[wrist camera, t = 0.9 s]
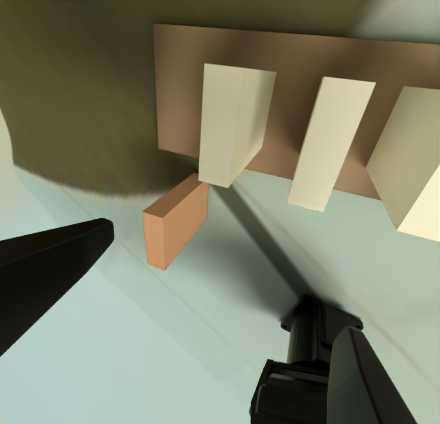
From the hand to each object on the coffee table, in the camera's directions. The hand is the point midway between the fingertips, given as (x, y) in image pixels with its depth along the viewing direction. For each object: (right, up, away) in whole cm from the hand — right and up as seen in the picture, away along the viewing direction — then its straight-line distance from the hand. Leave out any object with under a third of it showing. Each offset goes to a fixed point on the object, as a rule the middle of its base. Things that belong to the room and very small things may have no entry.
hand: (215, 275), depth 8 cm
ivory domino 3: (+11, +7, +6) cm, 15 cm away
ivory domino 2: (+7, +8, +7) cm, 13 cm away
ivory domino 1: (+3, +10, +8) cm, 13 cm away
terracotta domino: (-2, +4, +15) cm, 16 cm away
